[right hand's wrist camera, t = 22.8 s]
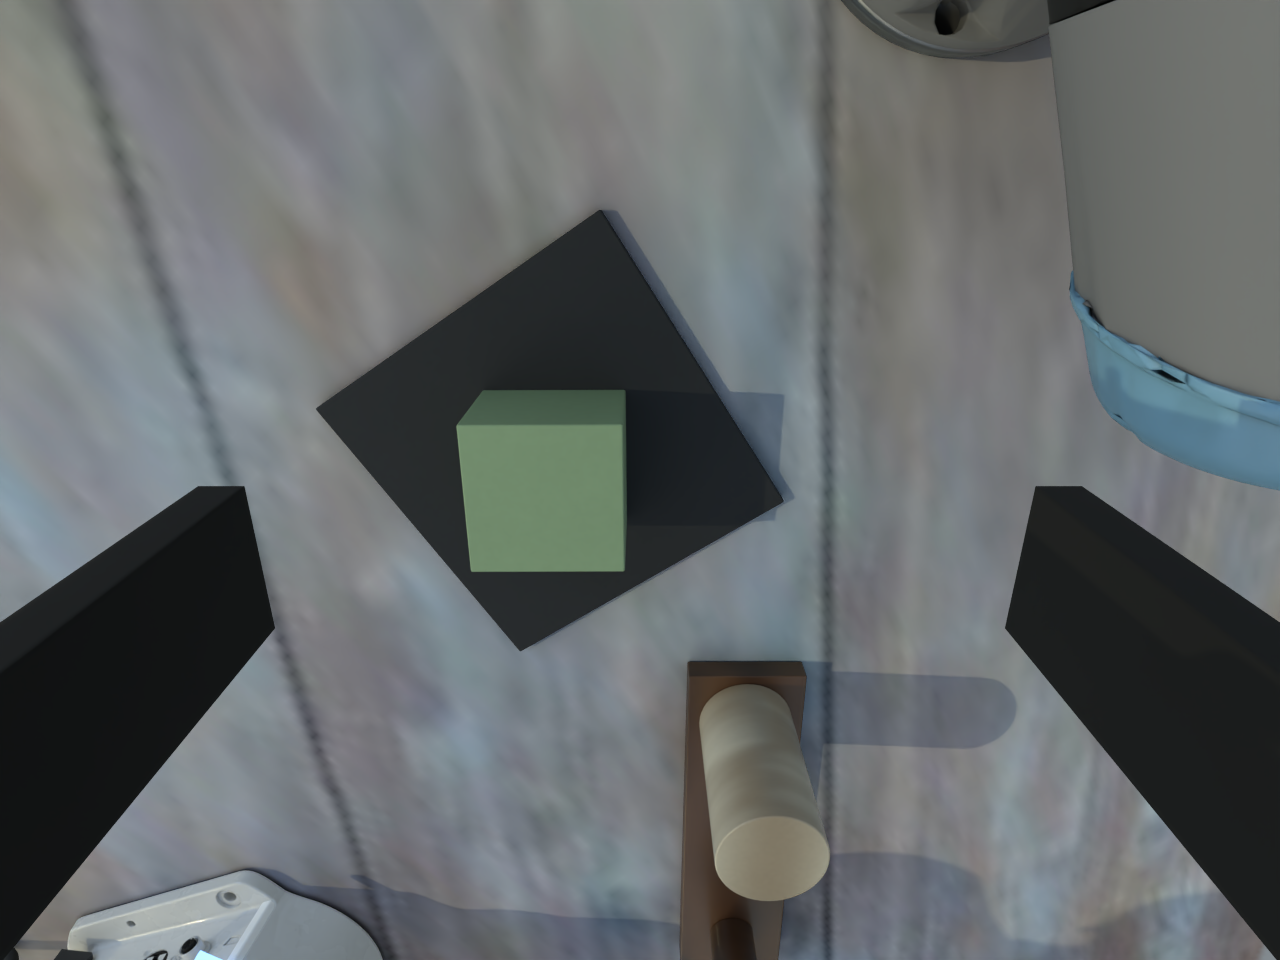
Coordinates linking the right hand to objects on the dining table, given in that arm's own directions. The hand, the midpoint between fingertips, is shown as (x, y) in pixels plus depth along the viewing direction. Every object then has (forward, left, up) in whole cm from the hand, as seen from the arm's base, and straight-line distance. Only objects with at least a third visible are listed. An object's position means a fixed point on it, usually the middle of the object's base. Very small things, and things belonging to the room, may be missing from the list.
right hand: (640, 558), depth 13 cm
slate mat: (+8, +4, -27) cm, 28 cm away
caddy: (+13, +32, -27) cm, 43 cm away
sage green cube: (+8, +4, -26) cm, 28 cm away
